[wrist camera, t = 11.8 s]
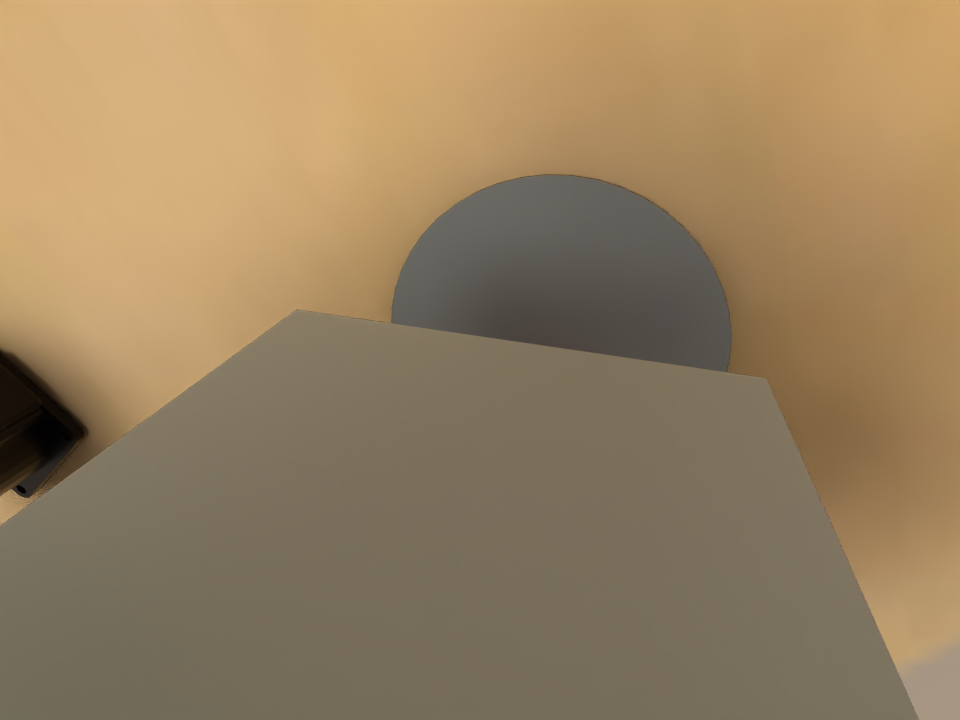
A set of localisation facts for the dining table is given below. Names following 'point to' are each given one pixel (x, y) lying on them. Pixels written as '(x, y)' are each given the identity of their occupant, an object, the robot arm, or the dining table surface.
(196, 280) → the dining table surface
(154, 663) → the gray-blue matte cube
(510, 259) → the circle
